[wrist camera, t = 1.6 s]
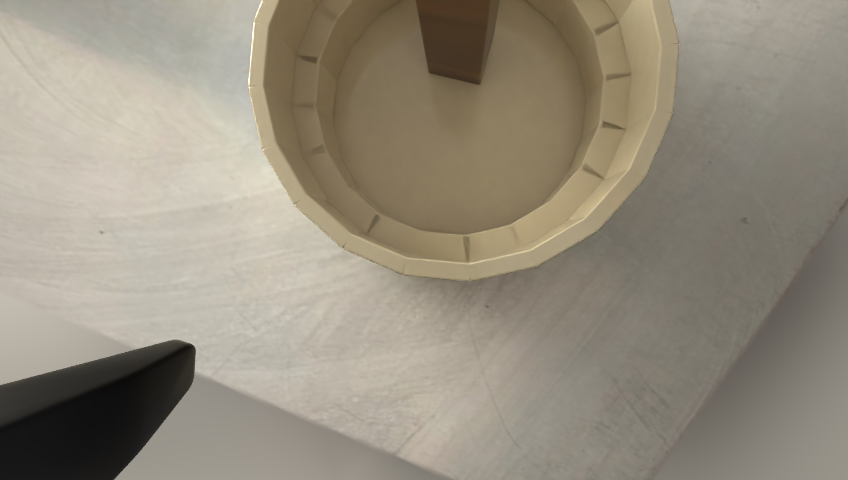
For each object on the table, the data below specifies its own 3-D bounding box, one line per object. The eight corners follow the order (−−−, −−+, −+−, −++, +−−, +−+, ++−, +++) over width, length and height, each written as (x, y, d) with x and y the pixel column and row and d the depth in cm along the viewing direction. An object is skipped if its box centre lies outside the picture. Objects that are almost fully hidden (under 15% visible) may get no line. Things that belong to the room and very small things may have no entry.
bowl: (540, 319, 20) (570, 348, 14) (259, 197, 21) (187, 181, 15) (669, 23, 19) (751, -63, 14) (375, -85, 20) (344, -205, 15)
